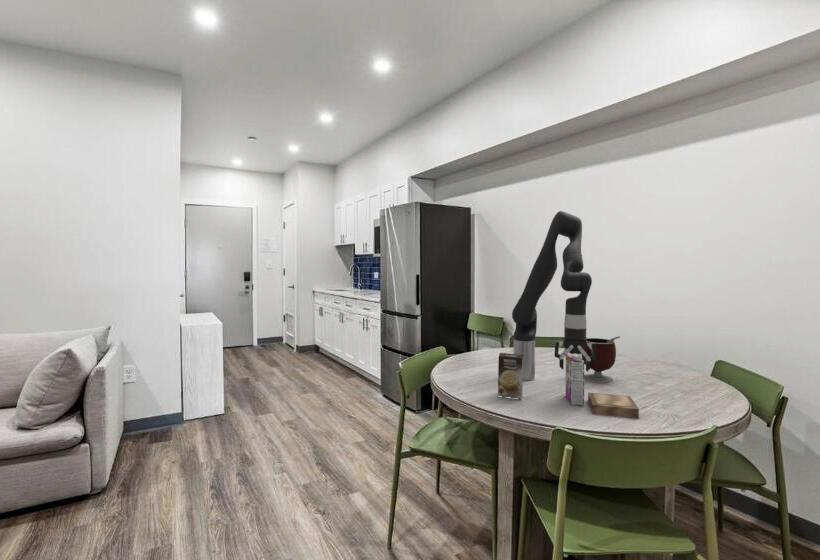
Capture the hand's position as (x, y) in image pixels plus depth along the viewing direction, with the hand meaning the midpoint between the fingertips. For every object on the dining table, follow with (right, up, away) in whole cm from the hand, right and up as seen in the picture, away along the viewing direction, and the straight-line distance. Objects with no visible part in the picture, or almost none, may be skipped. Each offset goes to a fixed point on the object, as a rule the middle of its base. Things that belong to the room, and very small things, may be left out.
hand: (574, 369), depth 152 cm
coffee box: (-23, -12, +6) cm, 26 cm away
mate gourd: (+23, -11, +29) cm, 38 cm away
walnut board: (+10, -12, -8) cm, 17 cm away
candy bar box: (0, -12, 0) cm, 12 cm away
